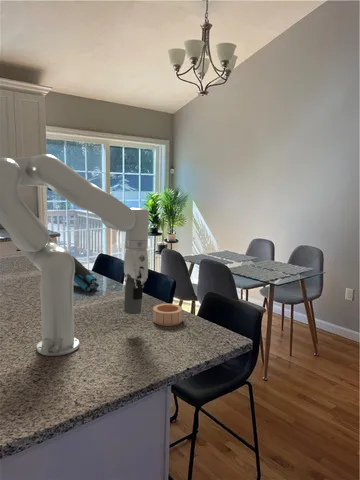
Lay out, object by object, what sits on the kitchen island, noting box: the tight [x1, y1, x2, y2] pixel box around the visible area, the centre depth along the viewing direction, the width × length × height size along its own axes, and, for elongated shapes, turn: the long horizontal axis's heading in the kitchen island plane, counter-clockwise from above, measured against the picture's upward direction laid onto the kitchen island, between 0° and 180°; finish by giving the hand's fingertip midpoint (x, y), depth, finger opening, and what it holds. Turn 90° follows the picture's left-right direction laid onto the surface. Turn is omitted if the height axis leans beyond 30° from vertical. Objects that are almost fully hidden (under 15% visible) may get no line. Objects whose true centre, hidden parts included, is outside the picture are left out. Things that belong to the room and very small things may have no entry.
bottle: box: [123, 274, 143, 315], centre depth 127 cm, size 6×6×15 cm
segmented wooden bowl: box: [152, 303, 183, 327], centre depth 140 cm, size 11×11×5 cm
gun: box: [73, 256, 100, 293], centre depth 184 cm, size 8×26×15 cm, turn 46°
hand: (133, 295), depth 128 cm, fingers closed on bottle, 5 cm apart
